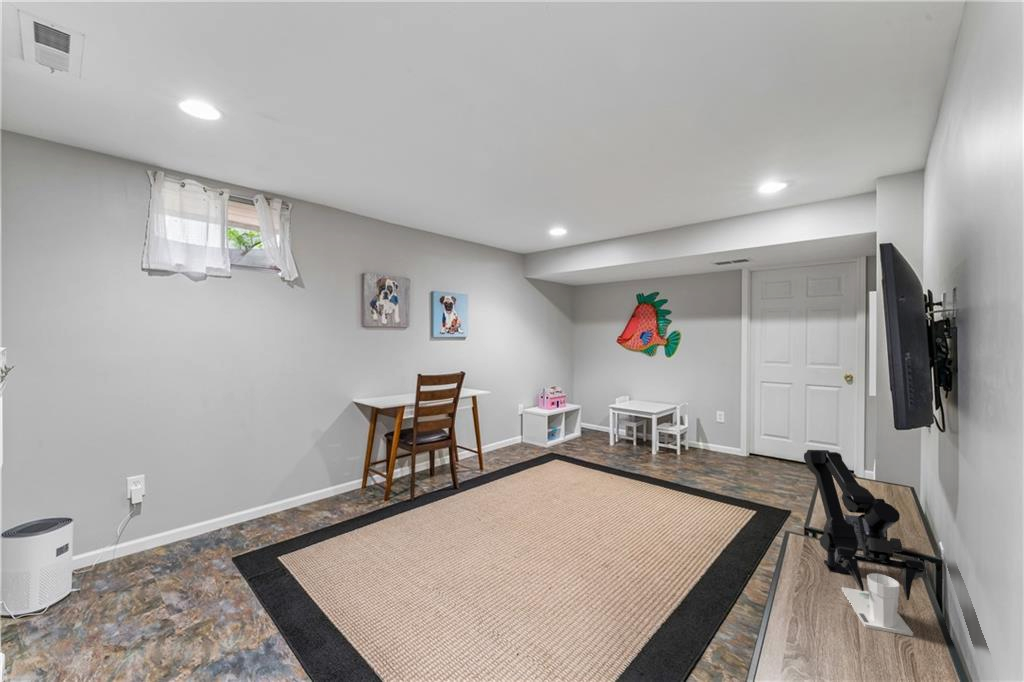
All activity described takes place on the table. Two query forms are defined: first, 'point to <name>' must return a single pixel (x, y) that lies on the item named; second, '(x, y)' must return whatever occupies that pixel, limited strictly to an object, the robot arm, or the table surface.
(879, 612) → the cup
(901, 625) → the indicator panel
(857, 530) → the small box
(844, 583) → the table surface
